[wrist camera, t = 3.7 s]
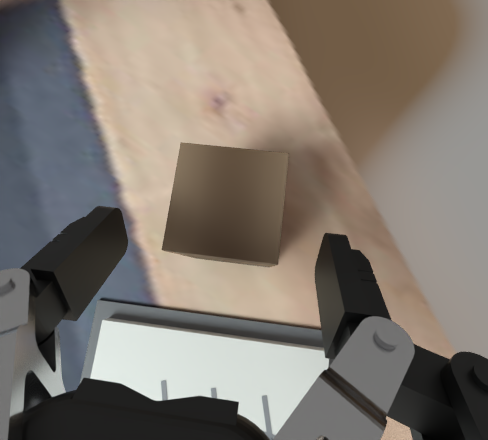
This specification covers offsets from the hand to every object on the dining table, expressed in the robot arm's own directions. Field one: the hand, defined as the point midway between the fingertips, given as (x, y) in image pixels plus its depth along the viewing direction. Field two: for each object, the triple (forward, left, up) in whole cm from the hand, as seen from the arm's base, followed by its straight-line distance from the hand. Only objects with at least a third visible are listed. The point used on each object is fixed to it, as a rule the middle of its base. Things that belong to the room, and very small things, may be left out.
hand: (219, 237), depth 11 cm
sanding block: (0, +2, -8) cm, 8 cm away
